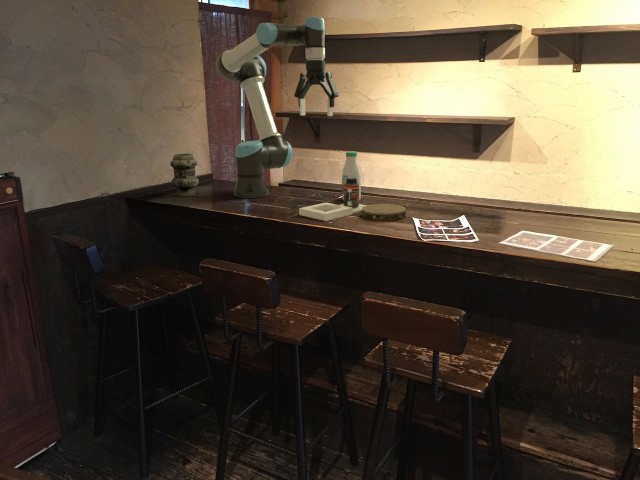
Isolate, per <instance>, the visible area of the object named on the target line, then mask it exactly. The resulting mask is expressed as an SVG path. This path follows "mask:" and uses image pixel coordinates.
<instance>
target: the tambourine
mask: <svg viewBox="0 0 640 480" xmlns="http://www.w3.org/2000/svg"><path fill="white" fill-rule="evenodd" d="M406 214H407V209H406V207H404V206H402V205H399V204H398V205H397V204H391V203H377V204H376V203H375V204H374V203H373V204H368V205H367V206H364V207H363V208H362V211H361V216H362V218H363V219H365V218H366V220H370V221H377V222H392V221H399V220H403V219H405V218H406V217H407V215H406Z"/></svg>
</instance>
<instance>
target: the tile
mask: <svg viewBox="0 0 640 480" xmlns="http://www.w3.org/2000/svg"><path fill="white" fill-rule="evenodd" d="M340 205H341V206H344V203H341V204H340ZM364 206H367V205H365V204H362V203H359V206H358V207H357V208H353V214H355V213H359V212H362V208H363V207H364Z"/></svg>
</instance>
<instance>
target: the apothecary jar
mask: <svg viewBox="0 0 640 480" xmlns="http://www.w3.org/2000/svg"><path fill="white" fill-rule="evenodd" d="M169 165H170V167H171V168H173V178H172V179H171V181H170V182H171V185H172V186H174V187H175V188H177V189H180V190H178V191H177V192H175V193H174V195H175V196H176V197H177V196H178V197H186V196H187V197H189V196H195V195H197V194H198V192H197V191H195V190H194V189H193V190H192V188H195V187H197V186H198V184H199V183H200V180H199V178H197V176H196V167H197V165H198V160H197V159H196V158H195V157H194V154H193V153H187V152H185V153H183V152H182V153H180V152H179V153H174V154H173V157H172V160H171V161H170V162H169Z"/></svg>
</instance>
